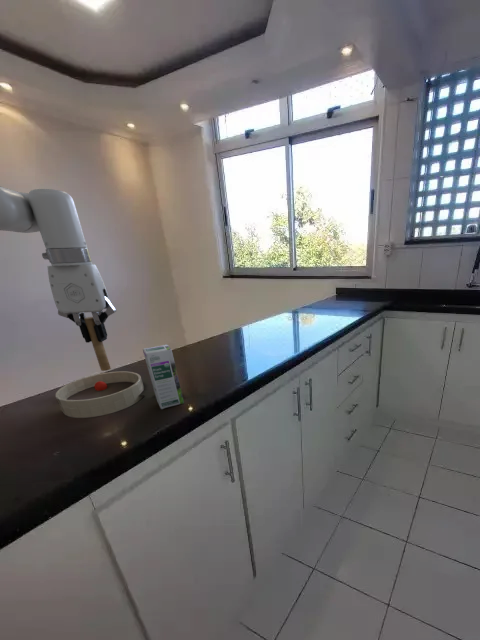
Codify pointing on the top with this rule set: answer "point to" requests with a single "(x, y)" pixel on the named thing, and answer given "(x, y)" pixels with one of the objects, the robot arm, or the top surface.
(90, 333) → the stick
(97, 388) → the ball
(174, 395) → the syrup box
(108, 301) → the robot arm
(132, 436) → the top surface
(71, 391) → the ring
